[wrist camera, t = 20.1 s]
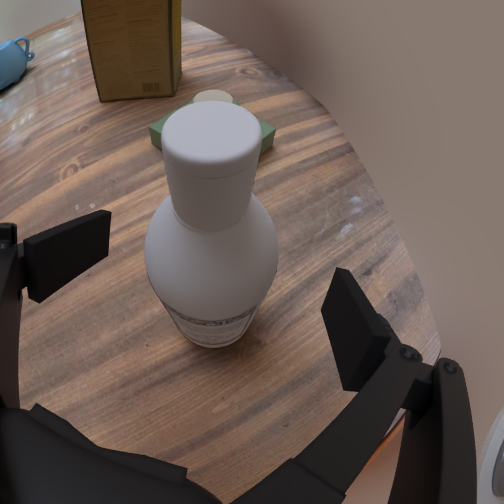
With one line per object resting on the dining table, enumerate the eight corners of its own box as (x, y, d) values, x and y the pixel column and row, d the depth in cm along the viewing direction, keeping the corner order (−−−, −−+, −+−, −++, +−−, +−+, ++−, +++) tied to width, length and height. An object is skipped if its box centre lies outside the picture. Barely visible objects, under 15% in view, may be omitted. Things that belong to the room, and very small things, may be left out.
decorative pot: (43, 64, 45) (32, 23, 33) (-2, 101, 38) (-18, 58, 25) (15, 67, 46) (5, 32, 33) (-24, 101, 38) (-38, 66, 26)
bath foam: (202, 261, 27) (193, 57, 9) (265, 299, 26) (358, 121, 8) (159, 320, 24) (49, 159, 6) (225, 363, 23) (258, 293, 5)
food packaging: (183, 71, 42) (186, -54, 20) (175, 97, 38) (174, -53, 16) (114, 76, 41) (101, -40, 19) (97, 104, 37) (73, -32, 14)
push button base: (272, 145, 35) (279, 116, 31) (222, 189, 31) (223, 158, 27) (204, 109, 38) (204, 81, 33) (151, 143, 33) (146, 114, 29)
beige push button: (239, 114, 31) (241, 98, 29) (213, 131, 29) (214, 114, 27) (211, 100, 32) (211, 85, 29) (185, 116, 30) (185, 100, 28)
